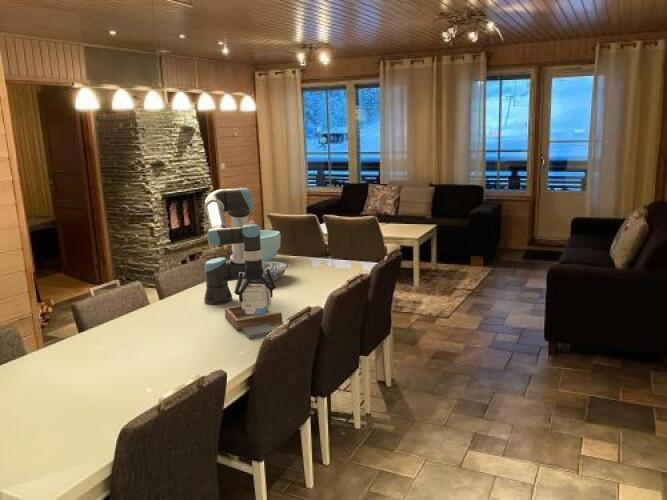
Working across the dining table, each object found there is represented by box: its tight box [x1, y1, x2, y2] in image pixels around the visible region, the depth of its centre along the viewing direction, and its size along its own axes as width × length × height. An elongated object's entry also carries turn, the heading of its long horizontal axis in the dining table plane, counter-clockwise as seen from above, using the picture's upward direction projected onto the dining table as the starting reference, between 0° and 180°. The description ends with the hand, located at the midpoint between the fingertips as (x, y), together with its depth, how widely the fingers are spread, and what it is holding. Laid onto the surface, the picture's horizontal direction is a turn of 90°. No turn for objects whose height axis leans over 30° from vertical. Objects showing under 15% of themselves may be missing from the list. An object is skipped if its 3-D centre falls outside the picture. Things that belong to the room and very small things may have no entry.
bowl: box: [231, 229, 282, 261], centre depth 395 cm, size 35×35×22 cm
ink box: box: [243, 283, 269, 315], centre depth 254 cm, size 9×8×13 cm
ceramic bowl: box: [249, 260, 290, 283], centre depth 350 cm, size 34×34×10 cm
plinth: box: [242, 323, 275, 340], centre depth 257 cm, size 12×12×2 cm
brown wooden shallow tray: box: [224, 304, 283, 332], centre depth 275 cm, size 23×22×5 cm
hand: (256, 306), depth 255 cm, fingers closed on ink box, 11 cm apart
